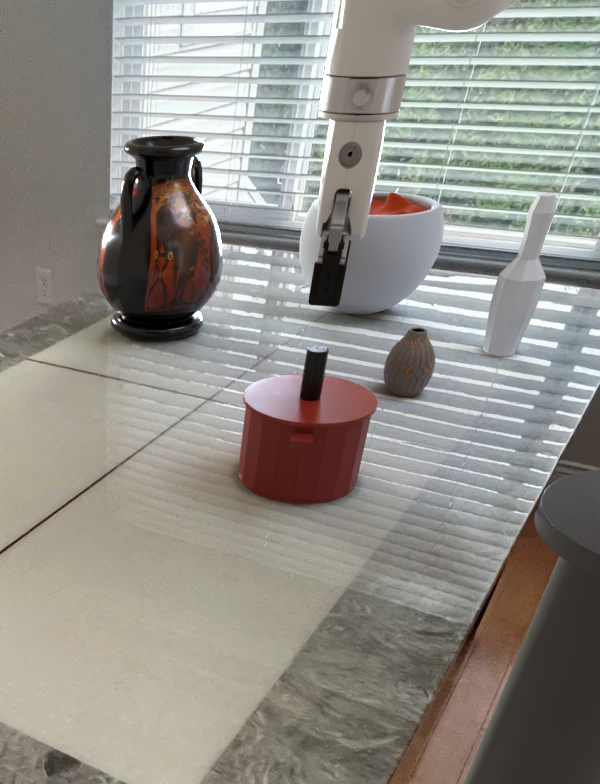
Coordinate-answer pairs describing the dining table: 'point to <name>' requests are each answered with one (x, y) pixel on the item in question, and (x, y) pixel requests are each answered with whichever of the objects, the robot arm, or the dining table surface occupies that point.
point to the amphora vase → (160, 243)
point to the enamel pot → (300, 459)
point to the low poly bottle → (520, 283)
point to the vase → (410, 363)
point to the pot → (382, 251)
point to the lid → (311, 396)
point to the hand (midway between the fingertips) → (326, 291)
